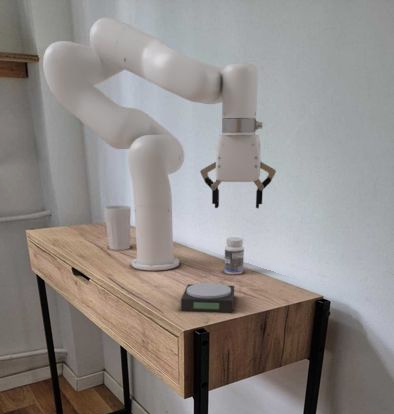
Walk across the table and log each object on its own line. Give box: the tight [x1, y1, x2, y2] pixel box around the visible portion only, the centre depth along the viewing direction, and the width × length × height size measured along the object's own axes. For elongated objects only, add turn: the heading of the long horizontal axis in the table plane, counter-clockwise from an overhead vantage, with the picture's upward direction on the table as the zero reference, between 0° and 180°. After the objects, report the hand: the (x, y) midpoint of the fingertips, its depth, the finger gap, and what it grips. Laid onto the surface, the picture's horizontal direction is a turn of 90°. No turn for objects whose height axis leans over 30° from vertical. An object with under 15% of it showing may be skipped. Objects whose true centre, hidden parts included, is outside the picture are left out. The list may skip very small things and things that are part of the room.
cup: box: [103, 204, 132, 251], centre depth 146 cm, size 8×8×12 cm
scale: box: [180, 282, 235, 313], centre depth 99 cm, size 10×10×3 cm
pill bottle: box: [223, 236, 245, 275], centre depth 120 cm, size 5×5×8 cm
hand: (237, 207), depth 115 cm, fingers open, 9 cm apart
